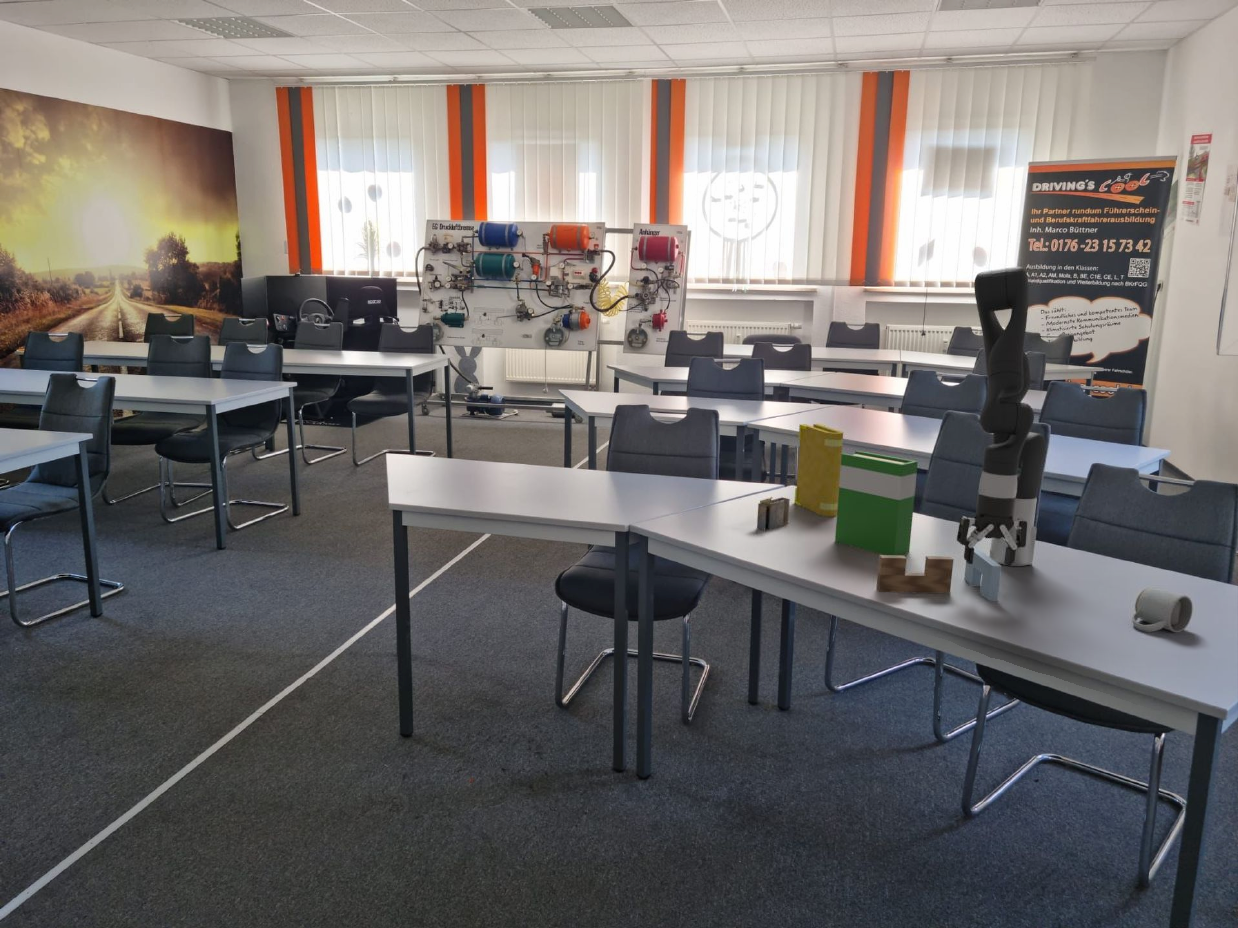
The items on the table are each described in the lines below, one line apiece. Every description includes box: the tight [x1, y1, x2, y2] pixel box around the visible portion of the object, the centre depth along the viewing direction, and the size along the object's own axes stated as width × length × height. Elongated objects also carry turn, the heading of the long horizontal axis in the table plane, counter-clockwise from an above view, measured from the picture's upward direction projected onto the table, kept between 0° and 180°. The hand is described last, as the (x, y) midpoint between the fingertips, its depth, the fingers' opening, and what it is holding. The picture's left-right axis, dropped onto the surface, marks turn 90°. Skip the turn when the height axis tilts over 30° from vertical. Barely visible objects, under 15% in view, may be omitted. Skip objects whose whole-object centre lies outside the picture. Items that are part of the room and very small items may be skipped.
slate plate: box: [963, 546, 1002, 602], centre depth 200 cm, size 14×2×8 cm, turn 0°
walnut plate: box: [876, 554, 954, 594], centre depth 198 cm, size 16×2×8 cm, turn 90°
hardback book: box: [834, 450, 919, 556], centre depth 230 cm, size 18×7×24 cm, turn 43°
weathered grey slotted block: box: [756, 496, 790, 531], centre depth 249 cm, size 11×3×10 cm, turn 134°
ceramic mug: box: [1131, 587, 1194, 633], centre depth 181 cm, size 11×8×8 cm
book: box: [794, 423, 844, 517], centre depth 267 cm, size 17×7×25 cm, turn 17°
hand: (988, 563), depth 195 cm, fingers open, 8 cm apart
